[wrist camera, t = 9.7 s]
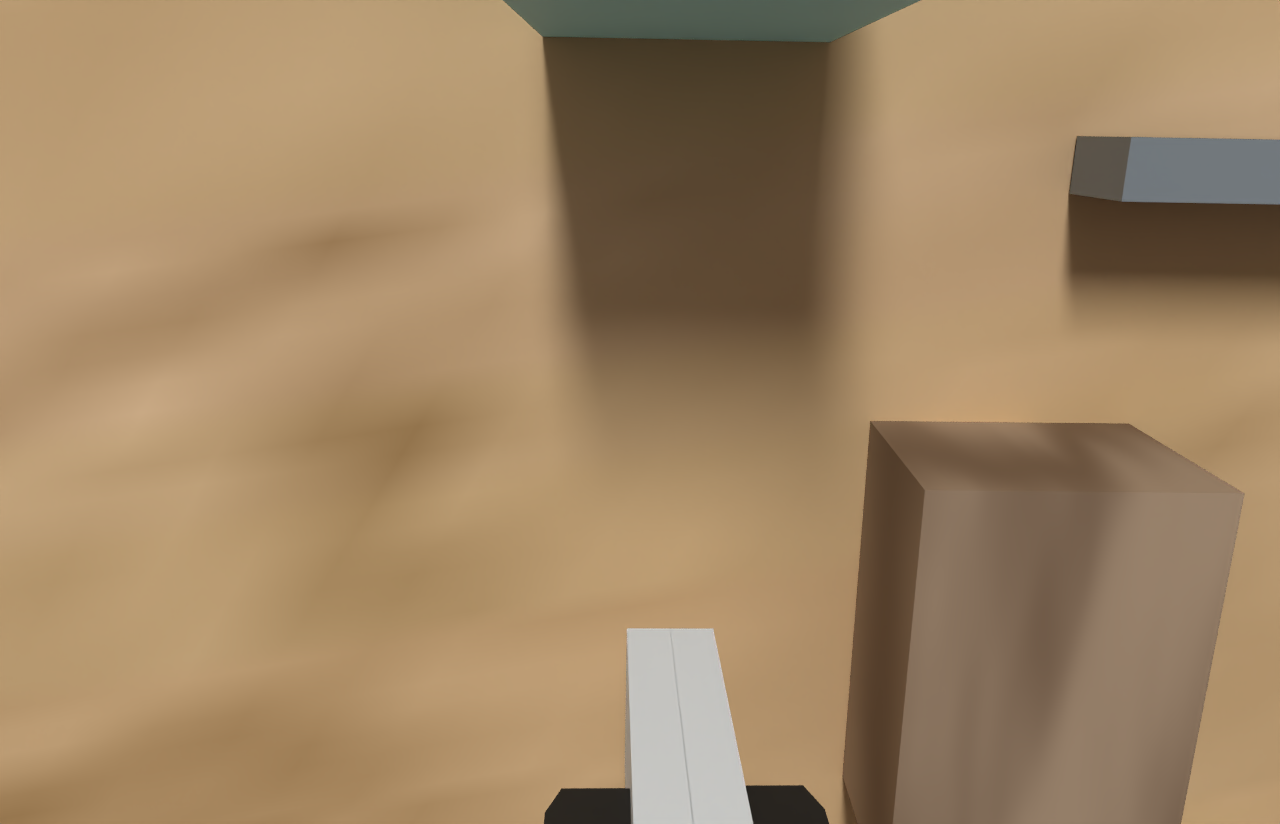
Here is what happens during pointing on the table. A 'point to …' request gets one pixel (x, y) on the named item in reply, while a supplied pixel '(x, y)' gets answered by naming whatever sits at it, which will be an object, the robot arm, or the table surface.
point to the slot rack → (1177, 170)
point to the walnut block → (1032, 624)
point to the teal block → (704, 18)
